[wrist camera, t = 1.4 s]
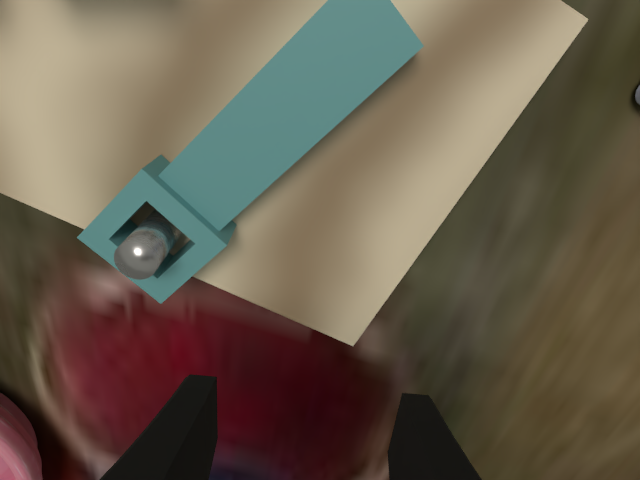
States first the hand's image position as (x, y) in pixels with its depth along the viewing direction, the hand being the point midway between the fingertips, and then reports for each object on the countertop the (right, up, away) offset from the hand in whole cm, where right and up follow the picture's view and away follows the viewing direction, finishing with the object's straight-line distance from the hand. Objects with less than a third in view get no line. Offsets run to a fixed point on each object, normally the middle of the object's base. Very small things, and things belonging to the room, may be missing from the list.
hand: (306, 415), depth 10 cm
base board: (-4, +10, +6) cm, 12 cm away
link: (-2, +8, +5) cm, 10 cm away
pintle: (-6, +5, +7) cm, 10 cm away
